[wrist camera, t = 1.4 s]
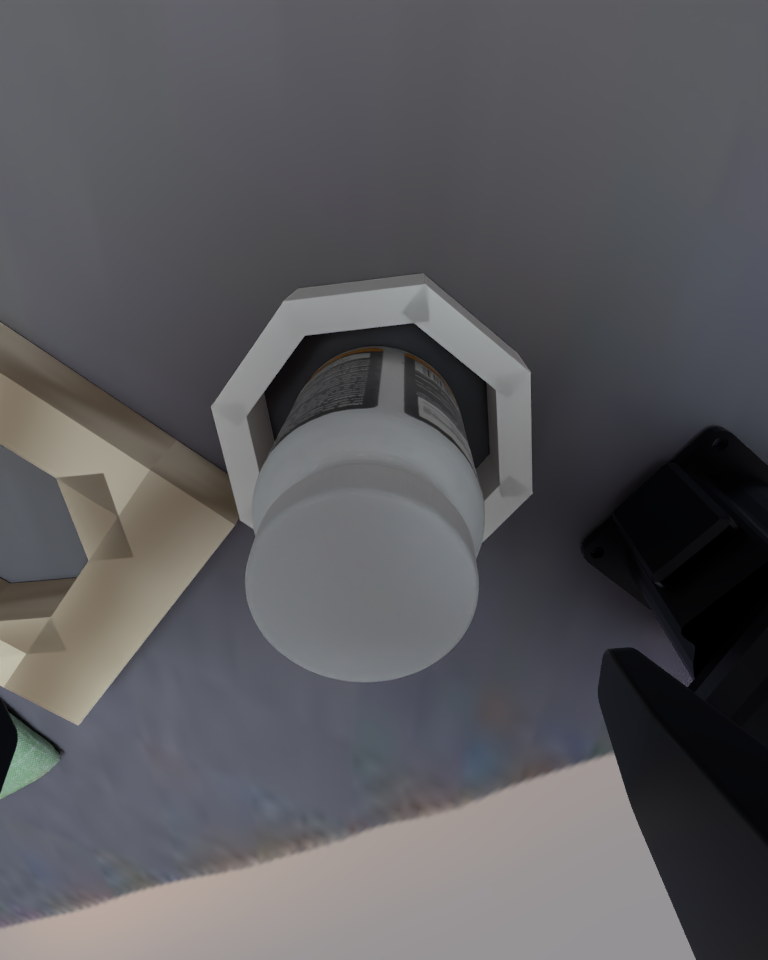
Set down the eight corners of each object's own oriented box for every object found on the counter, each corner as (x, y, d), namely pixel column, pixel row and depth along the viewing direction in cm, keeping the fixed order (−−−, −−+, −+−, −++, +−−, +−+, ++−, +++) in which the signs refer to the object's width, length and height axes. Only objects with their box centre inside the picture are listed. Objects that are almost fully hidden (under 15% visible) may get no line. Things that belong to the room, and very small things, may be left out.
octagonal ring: (577, 402, 20) (599, 429, 18) (399, 583, 23) (399, 624, 21) (350, 210, 18) (342, 213, 15) (190, 442, 21) (165, 472, 19)
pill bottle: (298, 492, 22) (225, 697, 13) (294, 336, 19) (200, 456, 10) (453, 500, 22) (486, 712, 13) (469, 344, 19) (523, 473, 10)
